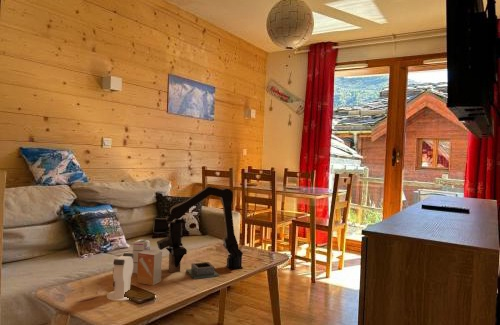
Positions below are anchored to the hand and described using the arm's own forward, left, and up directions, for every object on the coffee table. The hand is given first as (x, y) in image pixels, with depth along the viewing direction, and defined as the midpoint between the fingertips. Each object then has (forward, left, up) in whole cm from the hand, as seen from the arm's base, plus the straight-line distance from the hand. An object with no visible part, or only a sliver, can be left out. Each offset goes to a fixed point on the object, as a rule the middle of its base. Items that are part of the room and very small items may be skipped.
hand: (174, 265), depth 173 cm
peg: (0, 0, -3) cm, 3 cm away
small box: (+14, +12, -3) cm, 19 cm away
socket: (-11, +9, -2) cm, 14 cm away
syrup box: (+15, -3, -3) cm, 16 cm away
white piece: (+26, +23, -3) cm, 35 cm away
